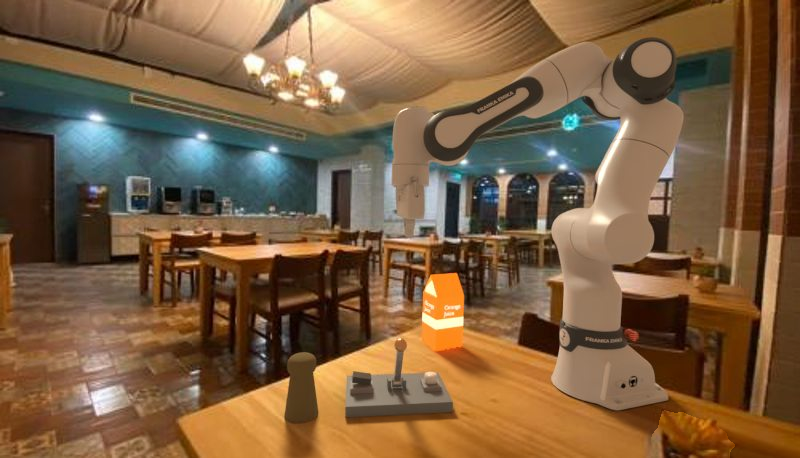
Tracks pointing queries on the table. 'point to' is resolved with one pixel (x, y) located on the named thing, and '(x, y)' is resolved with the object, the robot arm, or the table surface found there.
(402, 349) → the copper ball joystick
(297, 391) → the brown pawn
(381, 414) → the control panel
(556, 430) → the table surface
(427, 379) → the push button
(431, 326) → the orange juice
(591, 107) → the robot arm
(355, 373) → the rocker switch
